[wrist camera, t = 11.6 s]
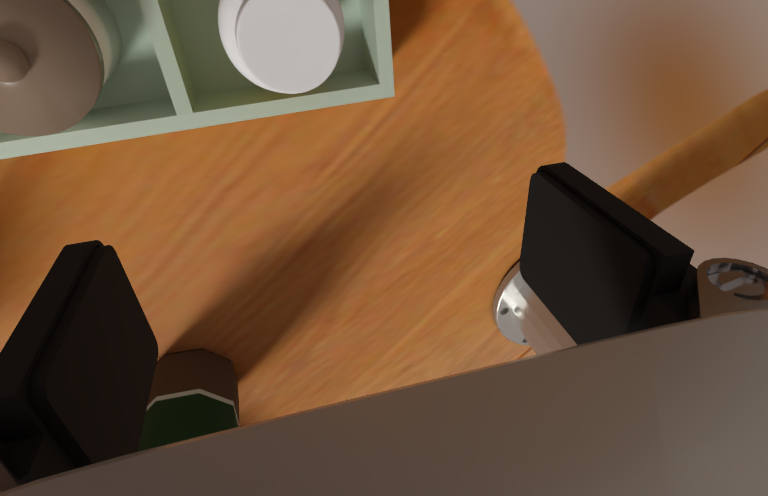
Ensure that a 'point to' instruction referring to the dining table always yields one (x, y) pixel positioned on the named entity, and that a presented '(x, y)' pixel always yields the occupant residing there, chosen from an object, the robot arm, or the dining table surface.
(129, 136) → the caddy
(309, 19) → the supplement bottle
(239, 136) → the dining table surface
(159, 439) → the beer bottle
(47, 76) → the jar
